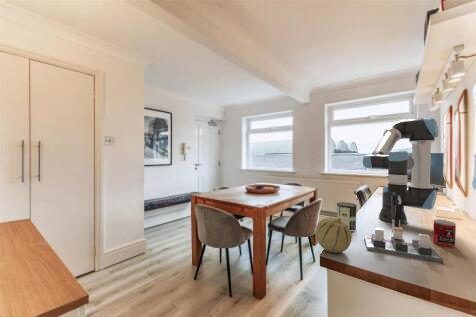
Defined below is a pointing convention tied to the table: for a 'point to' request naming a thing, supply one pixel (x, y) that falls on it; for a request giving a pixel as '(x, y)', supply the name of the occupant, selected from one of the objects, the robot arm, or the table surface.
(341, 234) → the cantaloupe
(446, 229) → the canned food
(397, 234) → the handle
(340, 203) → the coffee can
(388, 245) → the panel
